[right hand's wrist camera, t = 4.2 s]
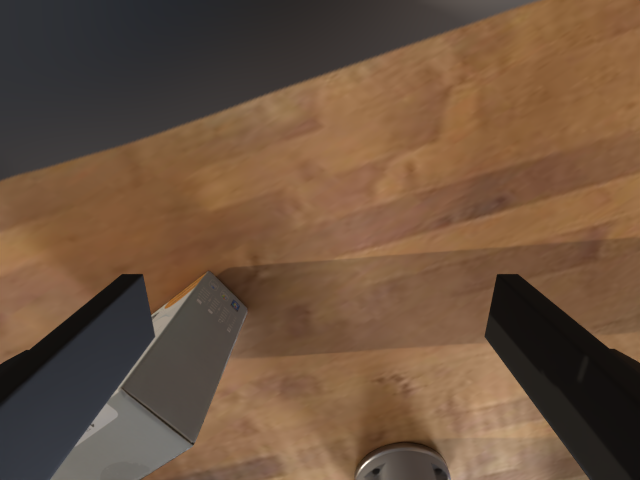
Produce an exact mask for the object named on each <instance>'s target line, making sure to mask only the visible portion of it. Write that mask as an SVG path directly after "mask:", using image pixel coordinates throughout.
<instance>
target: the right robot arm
mask: <svg viewBox="0 0 640 480" xmlns="http://www.w3.org/2000/svg"><path fill="white" fill-rule="evenodd" d="M154 338H155V332H154V327H153V322H152V317H151V312H150V307H149V302H148V297H147V292H146V287H145V282H144V277H143V274H122V275H121V276H119V277H118V278H117V279H116V280H114V281H113V282H112V283H111V284H110V285H108V286H107V287H106V288H105V289H103V290H102V291H101V292H100V293H99V294H97V295H96V296H95V297H94V298H92V299H91V300H90V301H89V302H87V303H86V304H85V305H84V306H83V307H81V308H80V309H79V310H78V311H76V312H75V313H74V314H73V315H72V316H70V317H69V318H68V319H67V320H65V321H64V322H63V323H62V324H60V325H59V326H58V327H57V328H56V329H54V330H53V331H52V332H51V333H49V334H48V335H47V336H46V337H45V338H43V339H42V340H41V341H40V342H38V343H37V344H36V345H35V346H33V347H32V348H31V349H30V350H25V351H24V352H22V353H20V354H18V355H16V356H14V357H12V358H11V359H9V360H7V361H5V362H3V363H2V364H1V365H0V480H50V479H51V478H52V476H53V475H54V474H55V472H56V471H57V470H58V468H59V467H60V466H61V464H62V463H63V461H64V460H65V459H66V457H67V456H68V455H69V453H70V452H71V451H72V449H73V448H74V446H75V445H76V444H77V442H78V441H79V440H80V438H81V437H82V436H83V434H84V433H85V432H86V430H87V429H88V427H89V426H90V425H91V423H92V422H93V421H94V419H95V418H96V417H97V415H98V414H99V413H100V411H101V410H102V408H103V407H104V406H105V404H106V403H107V402H108V400H109V399H110V398H111V396H112V395H113V394H114V392H115V391H116V389H117V388H118V387H119V385H120V384H121V383H122V381H123V380H124V379H125V377H126V376H127V375H128V373H129V372H130V370H131V369H132V368H133V366H134V365H135V364H136V362H137V361H138V360H139V358H140V357H141V355H142V354H143V353H144V351H145V350H146V349H147V347H148V346H149V345H150V343H151V342H152V341H153V339H154ZM485 338H486V339H487V341H488V342H489V343H490V345H491V346H492V347H493V349H494V350H495V351H496V353H497V354H498V355H499V357H500V358H501V360H502V361H503V362H504V364H505V365H506V366H507V368H508V369H509V370H510V372H511V373H512V375H513V376H514V377H515V379H516V380H517V381H518V383H519V384H520V385H521V387H522V388H523V389H524V391H525V392H526V394H527V395H528V396H529V398H530V399H531V400H532V402H533V403H534V404H535V406H536V407H537V408H538V410H539V411H540V413H541V414H542V415H543V417H544V418H545V419H546V421H547V422H548V423H549V425H550V426H551V427H552V429H553V430H554V432H555V433H556V434H557V436H558V437H559V438H560V440H561V441H562V442H563V444H564V445H565V446H566V448H567V449H568V451H569V452H570V453H571V455H572V456H573V457H574V459H575V460H576V461H577V463H578V464H579V466H580V467H581V468H582V470H583V471H584V472H585V474H586V475H587V476H588V478H589V479H590V480H640V363H639V362H638V361H636V360H634V359H632V358H630V357H628V356H627V355H625V354H623V353H621V352H619V351H617V350H615V349H609V348H608V347H607V346H605V345H604V344H603V343H602V342H600V341H599V340H598V339H597V338H595V337H594V336H593V335H592V334H591V333H589V332H588V331H587V330H586V329H584V328H583V327H582V326H581V325H580V324H578V323H577V322H576V321H575V320H573V319H572V318H571V317H570V316H568V315H567V314H566V313H565V312H564V311H562V310H561V309H560V308H559V307H557V306H556V305H555V304H554V303H553V302H551V301H550V300H549V299H548V298H546V297H545V296H544V295H543V294H541V293H540V292H539V291H538V290H537V289H535V288H534V287H533V286H532V285H530V284H529V283H528V282H527V281H526V280H524V279H523V278H522V277H521V276H519V275H518V274H497V277H496V282H495V287H494V292H493V297H492V302H491V307H490V312H489V317H488V322H487V327H486V332H485ZM355 480H451V478H450V473H449V471H448V468H447V465H446V463H445V461H444V459H443V458H442V457H441V456H440V455H439V454H438V453H437V452H436V451H434V450H433V449H431V448H429V447H426V446H423V445H420V444H415V443H395V444H390V445H386V446H383V447H381V448H378V449H376V450H374V451H372V452H371V453H369V454H368V455H367V456H366V457H364V458H363V460H362V461H361V462H360V463H359V465H358V467H357V469H356V472H355Z"/></svg>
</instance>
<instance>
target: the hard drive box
mask: <svg viewBox="0 0 640 480" xmlns="http://www.w3.org/2000/svg"><path fill="white" fill-rule="evenodd" d="M247 312H248V311H247V308H246V307H245V306H244V304H243V303H242V302H241V301H240V300H238V298H237V297H236V296H235V295H234V294H233V293H232V292H231V291H229V290H228V289H227V288H226V287H225V286H224V285H223V284H222V283H221V282H220V281H219V279H217V278H216V277H215V276H214V275H213V274H212V273H211V272H210V271H208V272H206V273H205V274H204V275H202V276H201V277H200V278H198V279H197V280H196V281H195V282H193V283H192V284H191V285H189V286H188V287H187V288H186V289H184V290H183V291H182V292H180V293H179V294H178V295H177V296H175V297H174V298H173V299H171V300H170V301H169V302H168V303H166V304H165V305H164V306H162V307H161V308H160V309H159V310H157V311H156V312H155V313H153V314H152V315H151V317H152V322H153V327H154V332H155V338H154V339H153V341H152V342H151V343H150V345H149V346H148V347H147V349H146V350H145V351H144V353H143V354H142V355H141V357H140V358H139V360H138V361H137V362H136V364H135V365H134V366H133V368H132V369H131V370H130V372H129V373H128V375H127V376H126V377H125V379H124V380H123V381H122V383H121V384H120V385H119V387H118V388H117V389H116V391H115V392H114V394H113V395H112V396H111V398H110V399H109V400H108V402H107V403H106V404H105V406H104V407H103V408H102V410H101V411H100V413H99V414H98V415H97V417H96V418H95V419H94V421H93V422H92V423H91V425H90V426H89V427H88V429H87V430H86V432H85V433H84V434H83V436H82V437H81V438H80V440H79V441H78V442H77V444H76V445H75V446H74V448H73V449H72V451H71V452H70V453H69V455H68V456H67V457H66V459H65V460H64V461H63V463H62V464H61V466H60V467H59V468H58V470H57V471H56V472H55V474H54V475H53V476H52V478H51V479H50V480H140V479H142V478H144V477H145V476H147V475H149V474H150V473H152V472H153V471H155V470H156V469H158V468H160V467H161V466H163V465H165V464H166V463H168V462H169V461H171V460H173V459H174V458H176V457H177V456H179V455H180V454H182V453H183V452H185V451H186V450H188V449H189V448H191V447H193V445H194V443H195V441H196V439H197V436H198V434H199V431H200V429H201V426H202V424H203V422H204V419H205V417H206V414H207V412H208V409H209V406H210V404H211V401H212V399H213V396H214V394H215V391H216V389H217V386H218V384H219V381H220V379H221V377H222V374H223V372H224V369H225V367H226V364H227V362H228V359H229V357H230V354H231V352H232V349H233V347H234V344H235V342H236V340H237V337H238V335H239V332H240V330H241V327H242V325H243V322H244V320H245V317H246V315H247Z"/></svg>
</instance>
